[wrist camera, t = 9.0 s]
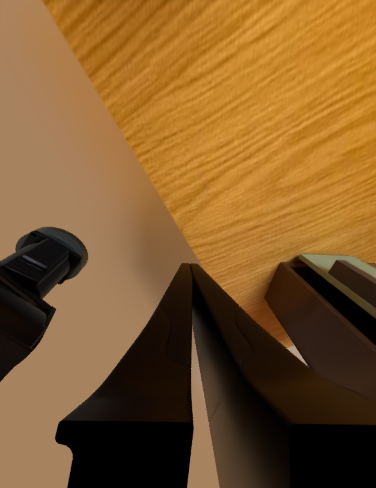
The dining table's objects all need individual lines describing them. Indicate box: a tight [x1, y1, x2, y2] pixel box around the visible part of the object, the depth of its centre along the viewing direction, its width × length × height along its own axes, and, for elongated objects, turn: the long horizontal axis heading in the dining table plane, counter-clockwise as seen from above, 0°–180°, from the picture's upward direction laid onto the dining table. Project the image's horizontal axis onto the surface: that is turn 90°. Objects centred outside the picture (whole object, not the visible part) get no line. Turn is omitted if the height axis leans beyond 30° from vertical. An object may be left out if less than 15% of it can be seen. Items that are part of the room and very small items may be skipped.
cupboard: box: [264, 262, 376, 401], centre depth 19 cm, size 16×10×16 cm, turn 85°
